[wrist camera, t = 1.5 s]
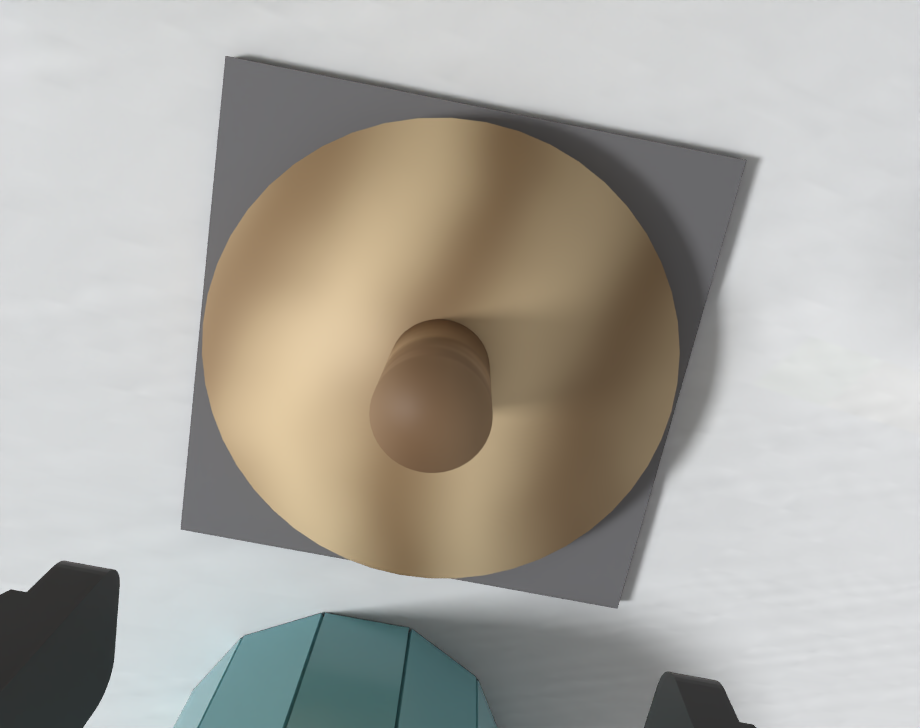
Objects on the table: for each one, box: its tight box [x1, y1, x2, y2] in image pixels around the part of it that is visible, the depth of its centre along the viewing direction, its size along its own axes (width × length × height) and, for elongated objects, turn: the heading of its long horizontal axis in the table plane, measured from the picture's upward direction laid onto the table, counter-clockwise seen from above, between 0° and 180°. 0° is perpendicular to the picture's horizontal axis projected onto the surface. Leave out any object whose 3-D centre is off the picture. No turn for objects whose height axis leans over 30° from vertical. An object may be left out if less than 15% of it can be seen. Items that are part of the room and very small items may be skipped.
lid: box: [202, 118, 680, 578], centre depth 24 cm, size 17×17×6 cm
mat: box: [181, 56, 746, 608], centre depth 28 cm, size 18×18×1 cm
